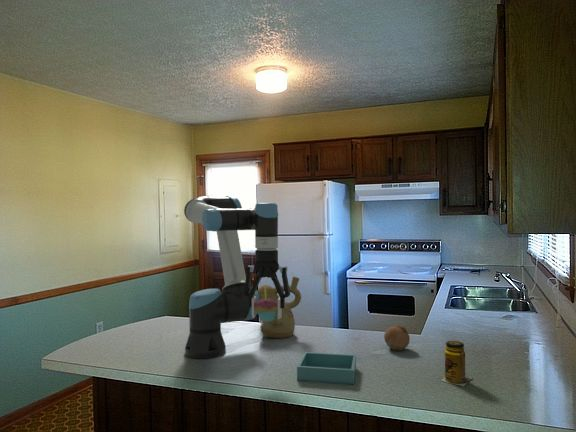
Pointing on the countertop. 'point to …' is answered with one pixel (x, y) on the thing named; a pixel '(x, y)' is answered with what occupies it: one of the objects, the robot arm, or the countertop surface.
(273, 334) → the ceramic vessel
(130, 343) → the countertop surface
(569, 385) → the countertop surface
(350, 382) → the tub
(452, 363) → the condiment
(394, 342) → the onion
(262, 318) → the cupcake
